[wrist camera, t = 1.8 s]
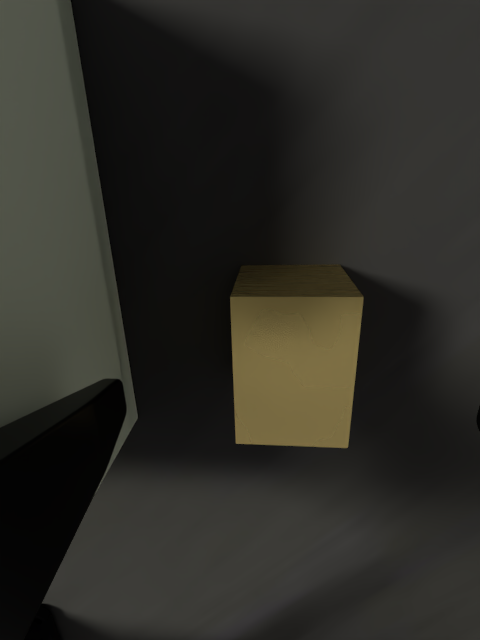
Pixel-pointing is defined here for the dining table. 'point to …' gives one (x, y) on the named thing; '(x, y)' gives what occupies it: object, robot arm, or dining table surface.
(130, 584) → the dining table surface
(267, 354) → the khaki wooden block
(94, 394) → the robot arm
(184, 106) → the dining table surface
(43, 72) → the open box
